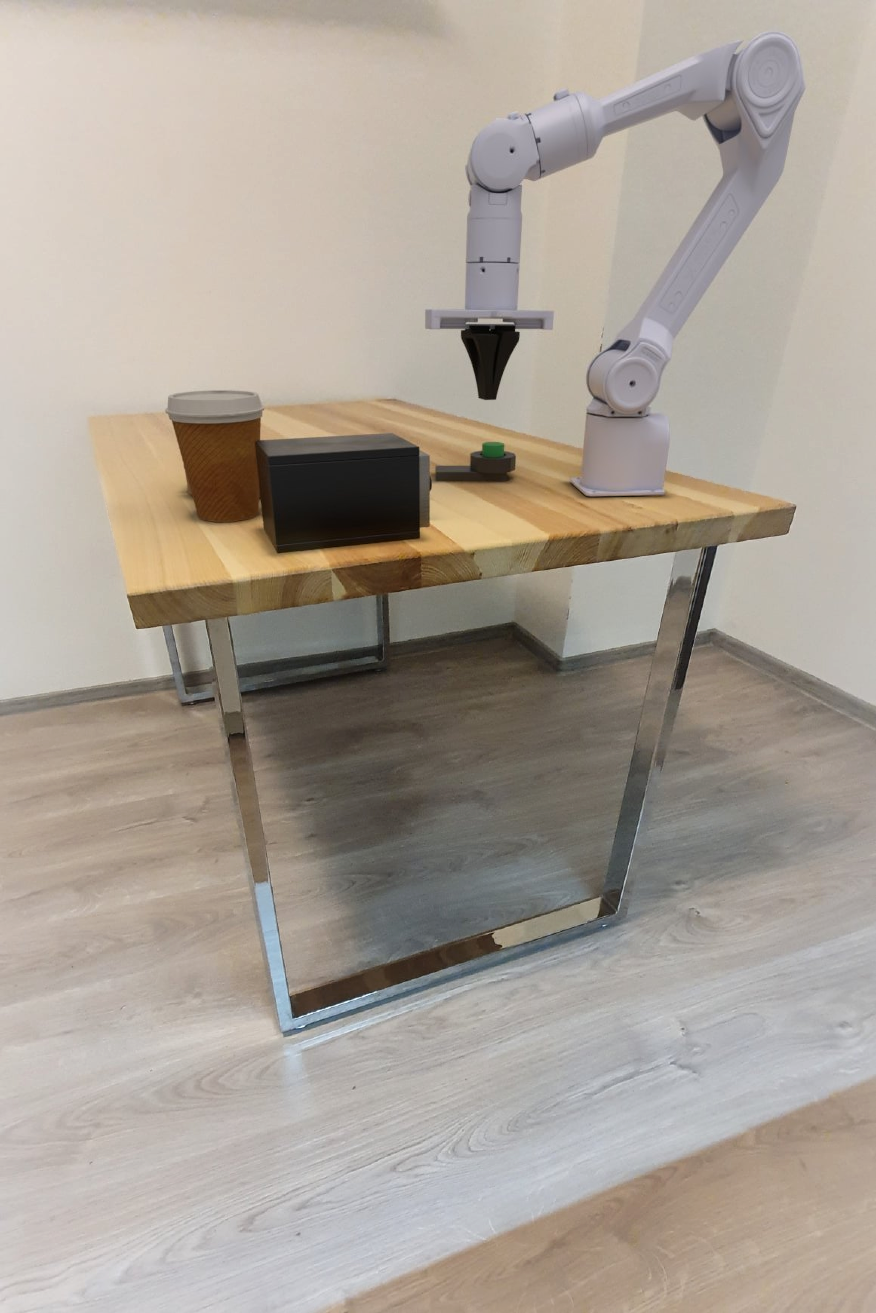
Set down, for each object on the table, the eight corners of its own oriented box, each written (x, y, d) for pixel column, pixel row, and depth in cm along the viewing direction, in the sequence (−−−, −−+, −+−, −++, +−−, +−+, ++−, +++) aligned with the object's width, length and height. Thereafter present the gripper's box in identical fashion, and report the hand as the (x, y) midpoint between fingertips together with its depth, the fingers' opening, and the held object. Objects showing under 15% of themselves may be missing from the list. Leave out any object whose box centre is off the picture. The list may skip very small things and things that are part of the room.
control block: (511, 473, 96) (513, 450, 95) (516, 483, 91) (517, 458, 90) (435, 473, 96) (435, 450, 95) (435, 483, 91) (435, 458, 90)
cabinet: (394, 517, 76) (392, 432, 72) (420, 539, 69) (419, 446, 66) (263, 529, 72) (254, 440, 68) (277, 553, 65) (267, 456, 61)
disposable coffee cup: (191, 531, 71) (172, 402, 66) (174, 509, 79) (156, 392, 74) (285, 519, 75) (274, 397, 70) (261, 499, 83) (249, 388, 78)
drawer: (418, 508, 76) (417, 441, 73) (441, 525, 70) (442, 454, 67) (287, 520, 72) (280, 449, 69) (300, 539, 66) (294, 463, 63)
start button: (502, 455, 94) (503, 441, 93) (504, 460, 91) (505, 445, 90) (481, 455, 94) (481, 441, 93) (482, 460, 91) (482, 445, 90)
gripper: (442, 260, 71) (440, 405, 77) (571, 264, 76) (560, 401, 82) (418, 263, 77) (418, 397, 83) (540, 267, 82) (531, 394, 88)
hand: (487, 399), depth 83 cm, fingers closed
